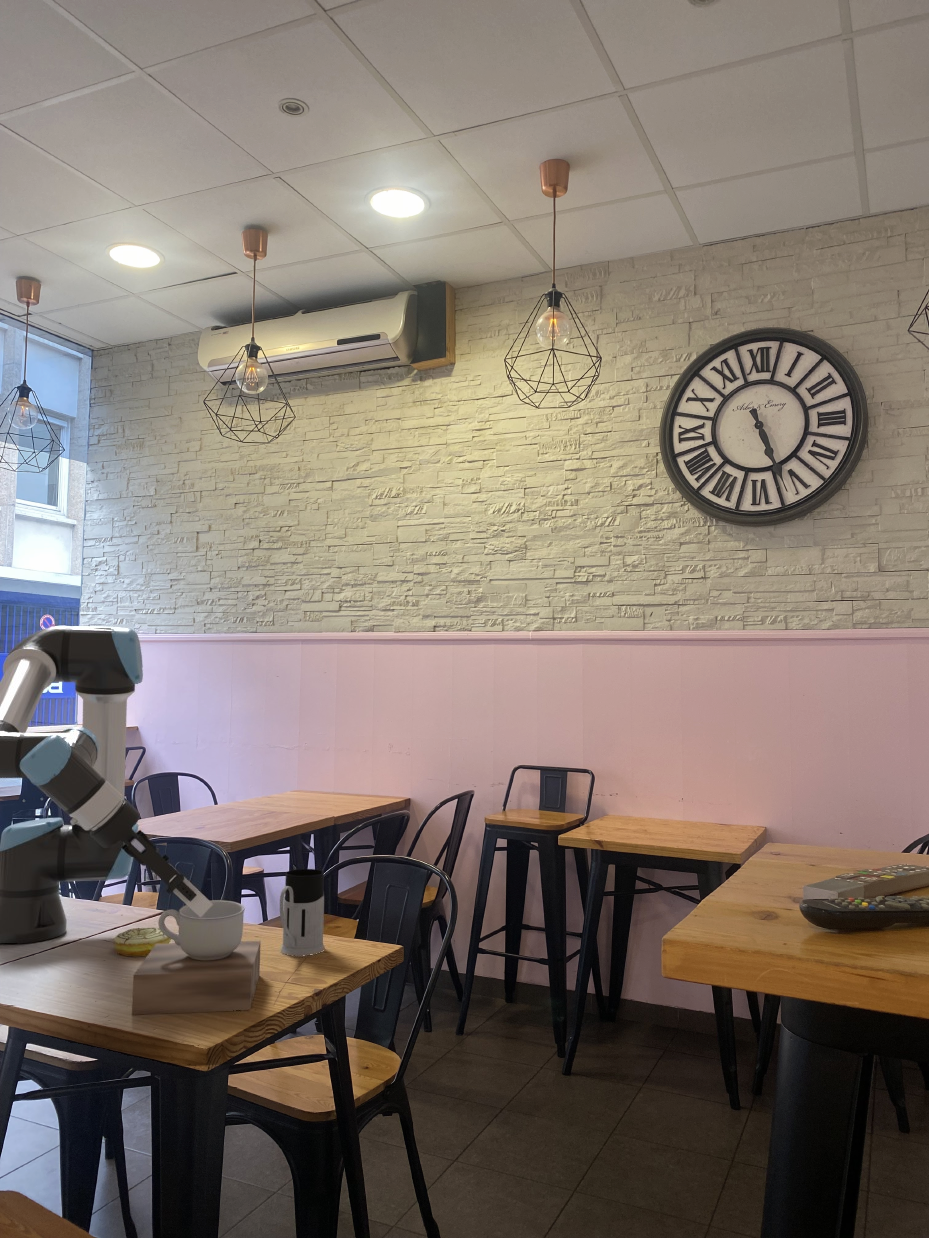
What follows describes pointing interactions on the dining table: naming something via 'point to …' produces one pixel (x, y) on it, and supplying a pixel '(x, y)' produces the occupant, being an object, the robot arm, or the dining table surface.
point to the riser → (195, 981)
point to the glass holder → (302, 912)
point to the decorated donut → (139, 941)
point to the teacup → (207, 930)
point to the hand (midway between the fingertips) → (197, 901)
